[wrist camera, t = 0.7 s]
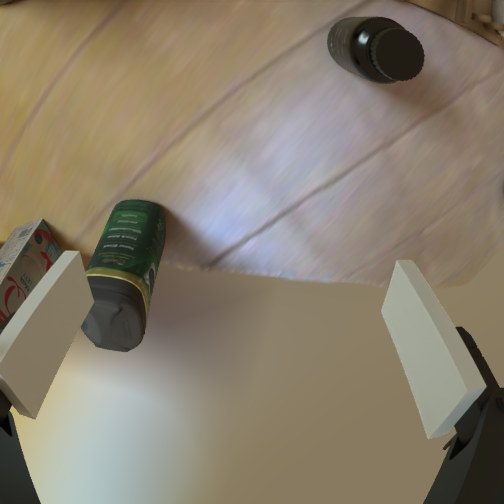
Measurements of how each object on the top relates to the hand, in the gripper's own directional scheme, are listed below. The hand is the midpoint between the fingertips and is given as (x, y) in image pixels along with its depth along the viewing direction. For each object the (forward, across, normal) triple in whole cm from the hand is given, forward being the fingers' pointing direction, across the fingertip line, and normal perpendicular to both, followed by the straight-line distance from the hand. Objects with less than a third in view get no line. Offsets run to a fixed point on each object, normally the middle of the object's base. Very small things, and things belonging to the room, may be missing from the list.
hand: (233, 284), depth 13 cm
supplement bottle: (+28, +12, +13) cm, 33 cm away
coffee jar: (+29, -15, -12) cm, 35 cm away
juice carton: (+28, -34, -14) cm, 46 cm away
